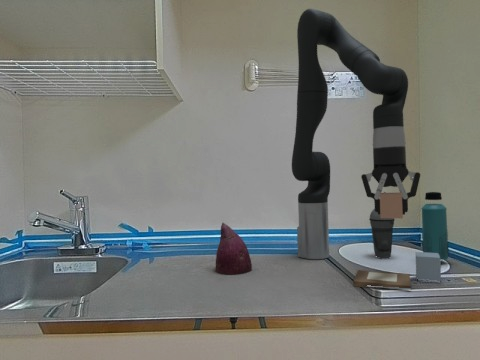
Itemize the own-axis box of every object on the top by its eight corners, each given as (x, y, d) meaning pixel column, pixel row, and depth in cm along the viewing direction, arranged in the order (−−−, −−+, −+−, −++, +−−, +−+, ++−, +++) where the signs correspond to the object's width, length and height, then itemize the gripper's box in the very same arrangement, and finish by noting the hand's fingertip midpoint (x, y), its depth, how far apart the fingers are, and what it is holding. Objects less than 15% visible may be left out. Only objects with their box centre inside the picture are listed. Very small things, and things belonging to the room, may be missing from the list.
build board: (353, 286, 83) (353, 280, 83) (358, 274, 92) (358, 269, 92) (410, 291, 78) (410, 285, 78) (409, 278, 87) (409, 273, 87)
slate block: (416, 281, 85) (416, 256, 85) (416, 275, 89) (415, 251, 89) (440, 283, 83) (440, 257, 83) (438, 277, 87) (438, 253, 87)
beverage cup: (376, 253, 115) (374, 191, 115) (399, 256, 110) (397, 191, 109) (366, 257, 110) (364, 192, 110) (389, 260, 105) (387, 192, 104)
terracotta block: (380, 218, 88) (379, 194, 88) (380, 215, 93) (379, 192, 93) (402, 218, 86) (401, 193, 86) (401, 216, 91) (401, 192, 91)
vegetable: (212, 284, 98) (195, 233, 97) (226, 270, 108) (211, 223, 107) (247, 278, 94) (229, 224, 93) (258, 263, 104) (242, 214, 103)
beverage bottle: (452, 265, 97) (450, 192, 97) (426, 265, 99) (424, 192, 98) (444, 259, 104) (442, 191, 104) (419, 259, 105) (417, 191, 105)
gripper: (357, 147, 89) (360, 215, 89) (422, 143, 83) (424, 216, 83) (359, 149, 96) (362, 212, 96) (419, 145, 90) (421, 212, 90)
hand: (391, 213), depth 90 cm, fingers closed on terracotta block, 5 cm apart
